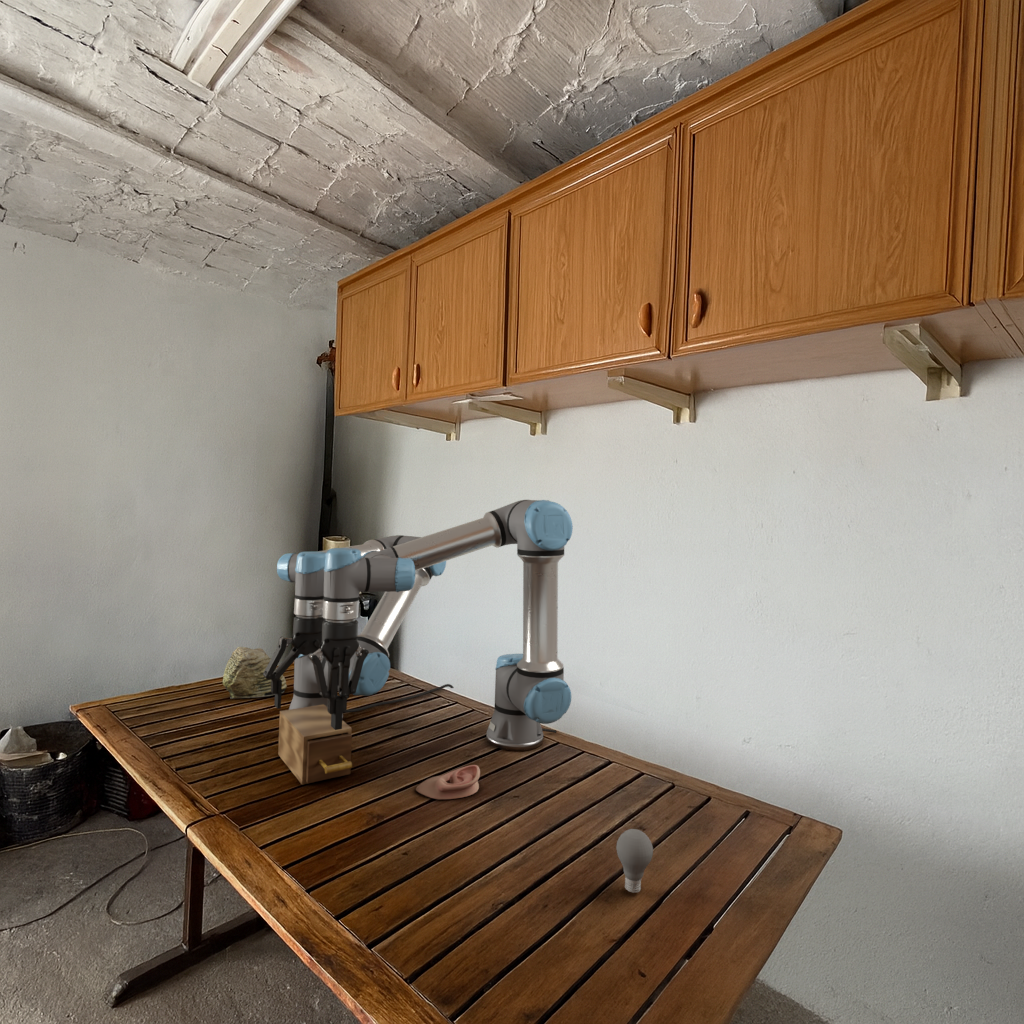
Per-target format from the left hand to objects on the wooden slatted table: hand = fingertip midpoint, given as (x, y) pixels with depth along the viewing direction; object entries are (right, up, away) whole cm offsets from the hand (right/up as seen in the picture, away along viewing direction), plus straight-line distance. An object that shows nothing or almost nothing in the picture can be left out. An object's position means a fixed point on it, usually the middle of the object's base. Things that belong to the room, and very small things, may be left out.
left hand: (306, 702), depth 154 cm
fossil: (-31, -11, +44) cm, 55 cm away
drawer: (+6, -12, -9) cm, 16 cm away
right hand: (+12, -1, -16) cm, 20 cm away
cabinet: (+3, -13, -4) cm, 14 cm away
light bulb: (+70, -17, -48) cm, 87 cm away
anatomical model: (+36, -15, -14) cm, 41 cm away
